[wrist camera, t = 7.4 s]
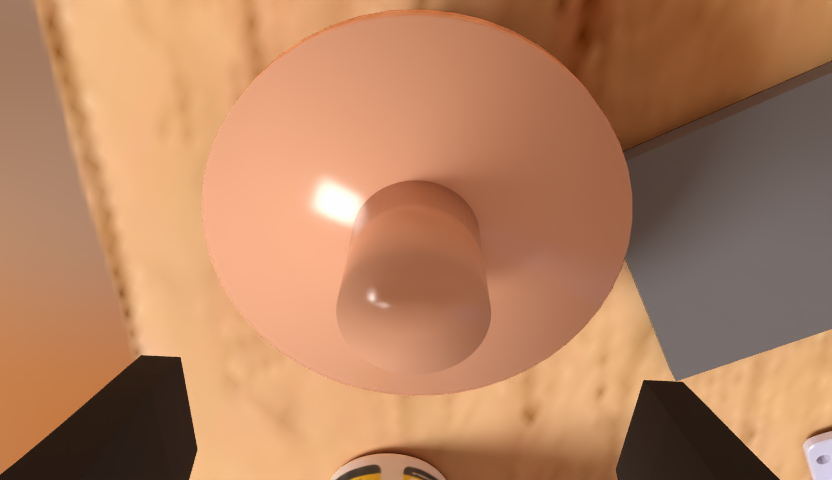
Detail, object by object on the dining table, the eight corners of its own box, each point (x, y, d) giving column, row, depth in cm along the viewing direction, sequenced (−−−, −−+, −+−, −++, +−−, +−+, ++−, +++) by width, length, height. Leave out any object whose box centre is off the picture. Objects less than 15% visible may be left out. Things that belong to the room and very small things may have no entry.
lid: (676, 291, 16) (740, 395, 13) (351, 419, 19) (334, 534, 15) (520, -90, 12) (555, -77, 9) (123, 145, 14) (34, 223, 11)
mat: (938, 278, 21) (952, 288, 20) (670, 369, 23) (675, 381, 22) (910, 27, 17) (925, 32, 16) (587, 166, 19) (592, 175, 18)
